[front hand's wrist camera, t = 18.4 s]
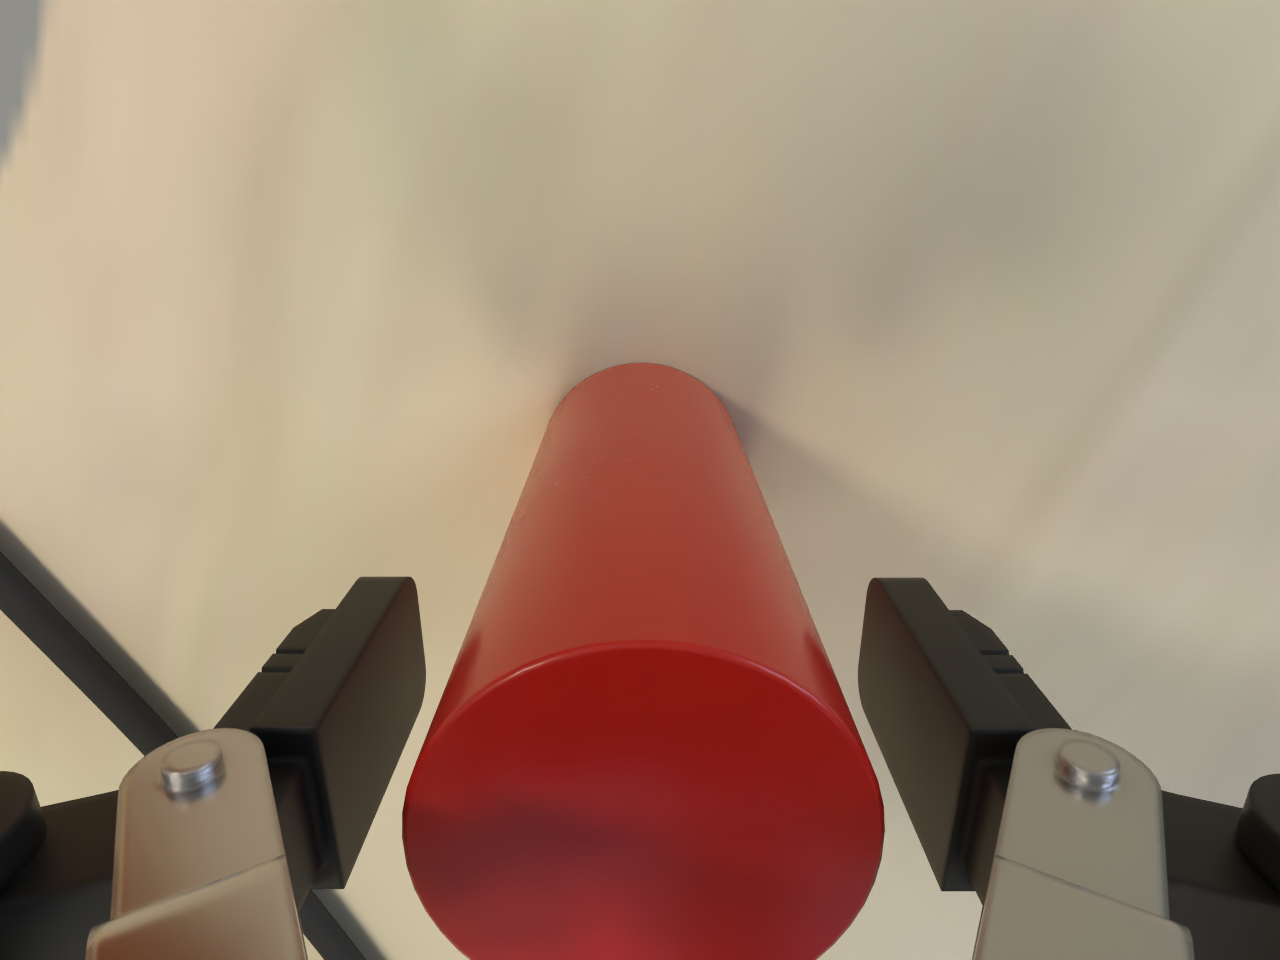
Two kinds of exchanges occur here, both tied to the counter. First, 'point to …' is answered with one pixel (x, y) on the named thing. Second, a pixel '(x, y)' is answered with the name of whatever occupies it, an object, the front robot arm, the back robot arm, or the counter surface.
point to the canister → (642, 712)
